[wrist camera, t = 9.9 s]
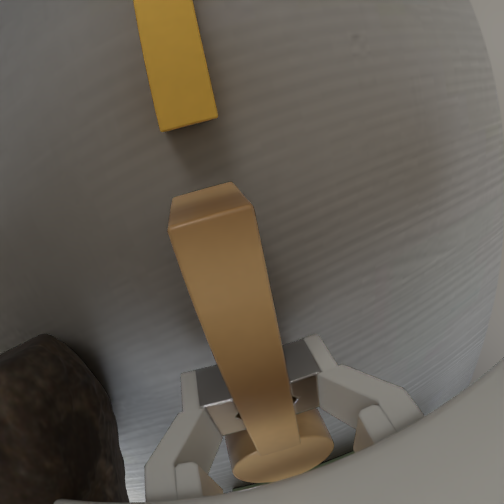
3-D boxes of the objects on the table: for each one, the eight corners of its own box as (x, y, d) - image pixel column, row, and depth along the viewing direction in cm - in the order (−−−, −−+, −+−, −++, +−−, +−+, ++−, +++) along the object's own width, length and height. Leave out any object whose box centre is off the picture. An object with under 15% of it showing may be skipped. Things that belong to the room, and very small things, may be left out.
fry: (173, -65, 5) (173, -88, 3) (213, 119, 8) (219, 117, 6) (129, -55, 4) (123, -76, 3) (164, 132, 7) (160, 132, 6)
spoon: (116, 214, 7) (91, 251, 5) (289, 167, 8) (330, 185, 5) (238, 459, 13) (247, 496, 11) (320, 434, 13) (336, 468, 11)
